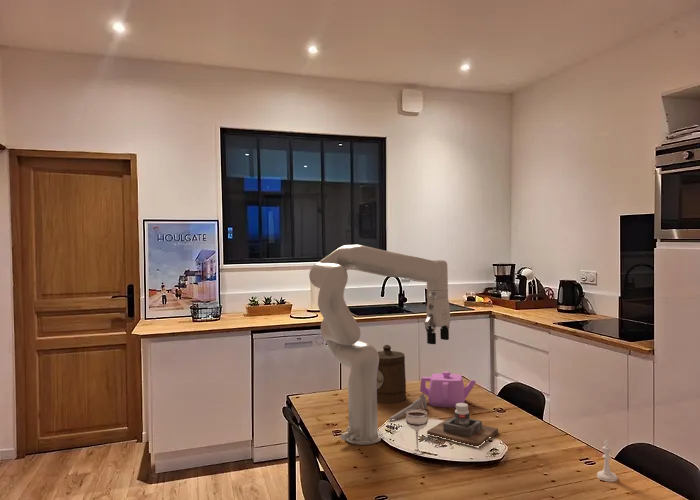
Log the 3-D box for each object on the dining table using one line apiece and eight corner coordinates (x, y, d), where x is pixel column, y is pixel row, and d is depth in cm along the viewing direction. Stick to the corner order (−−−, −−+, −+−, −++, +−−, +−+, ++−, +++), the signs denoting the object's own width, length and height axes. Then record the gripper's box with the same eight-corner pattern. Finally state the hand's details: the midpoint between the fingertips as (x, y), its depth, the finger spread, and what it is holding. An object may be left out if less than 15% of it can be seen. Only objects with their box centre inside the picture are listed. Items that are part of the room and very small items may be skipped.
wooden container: (366, 394, 216) (366, 342, 216) (400, 391, 219) (399, 340, 218) (374, 404, 201) (373, 349, 201) (410, 401, 204) (409, 347, 204)
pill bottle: (459, 432, 166) (458, 407, 165) (452, 427, 170) (452, 403, 170) (472, 431, 167) (471, 406, 167) (465, 426, 171) (464, 401, 171)
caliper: (424, 409, 196) (424, 392, 196) (426, 409, 195) (426, 393, 195) (387, 422, 182) (387, 404, 182) (389, 422, 181) (389, 405, 181)
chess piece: (610, 473, 138) (610, 436, 138) (621, 481, 133) (620, 443, 133) (593, 473, 138) (592, 437, 138) (602, 482, 133) (602, 444, 133)
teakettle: (417, 401, 205) (416, 370, 205) (448, 393, 214) (447, 364, 214) (446, 412, 191) (445, 379, 190) (478, 404, 200) (477, 373, 200)
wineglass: (431, 449, 156) (431, 411, 156) (423, 457, 150) (422, 417, 150) (411, 445, 160) (410, 407, 160) (402, 453, 154) (401, 414, 154)
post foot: (478, 448, 157) (477, 435, 156) (427, 435, 168) (426, 423, 168) (498, 432, 169) (498, 420, 169) (449, 421, 180) (449, 410, 180)
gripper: (434, 297, 173) (435, 346, 173) (457, 292, 187) (458, 338, 187) (416, 296, 178) (416, 344, 178) (439, 292, 191) (440, 337, 192)
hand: (438, 341), depth 182 cm, fingers open, 9 cm apart
